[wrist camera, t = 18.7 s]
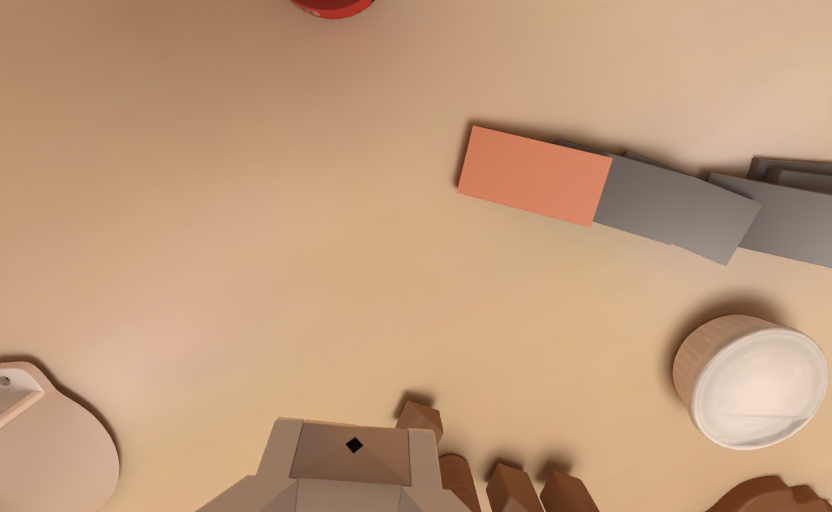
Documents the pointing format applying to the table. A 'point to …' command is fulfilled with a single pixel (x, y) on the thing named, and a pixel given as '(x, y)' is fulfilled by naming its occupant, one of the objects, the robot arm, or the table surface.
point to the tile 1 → (641, 197)
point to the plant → (770, 498)
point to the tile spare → (533, 175)
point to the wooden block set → (499, 477)
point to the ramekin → (749, 380)
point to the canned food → (332, 7)
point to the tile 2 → (711, 218)
